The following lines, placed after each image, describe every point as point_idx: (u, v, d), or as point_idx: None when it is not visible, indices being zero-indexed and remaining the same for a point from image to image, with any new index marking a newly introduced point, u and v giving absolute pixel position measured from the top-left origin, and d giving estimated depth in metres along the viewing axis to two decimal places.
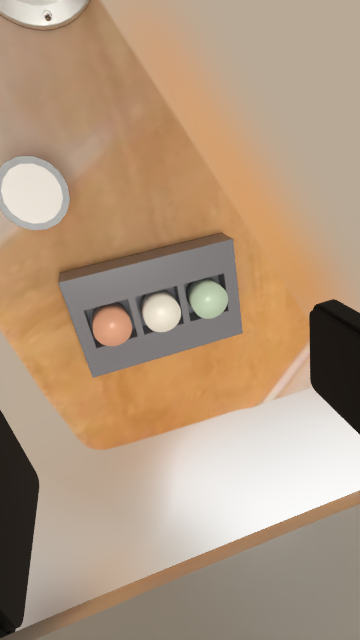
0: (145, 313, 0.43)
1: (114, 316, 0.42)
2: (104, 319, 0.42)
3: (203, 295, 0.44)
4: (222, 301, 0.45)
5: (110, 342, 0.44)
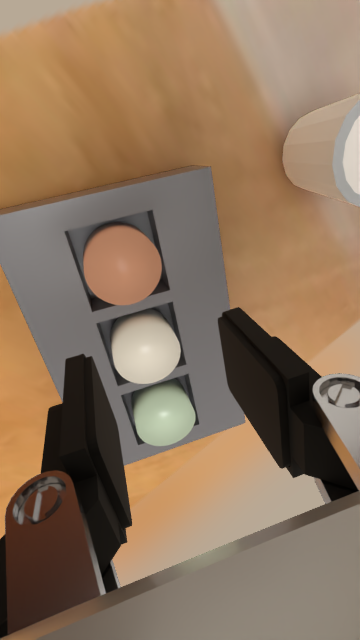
0: (153, 326, 0.24)
1: (151, 272, 0.22)
2: (146, 253, 0.21)
3: (178, 410, 0.27)
4: (165, 439, 0.28)
5: (93, 264, 0.21)
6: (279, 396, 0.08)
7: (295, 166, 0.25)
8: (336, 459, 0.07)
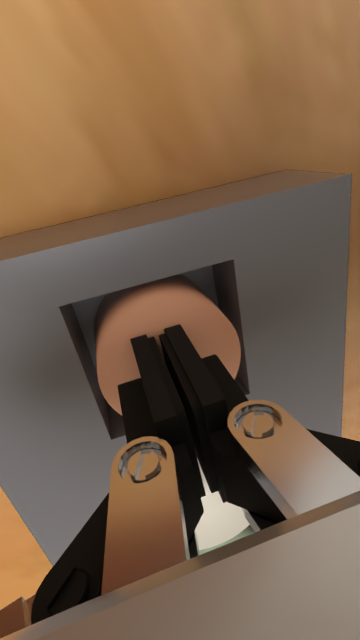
0: None
1: None
2: (215, 337, 0.11)
3: None
4: None
5: (115, 364, 0.11)
6: (198, 422, 0.07)
7: None
8: (252, 489, 0.07)
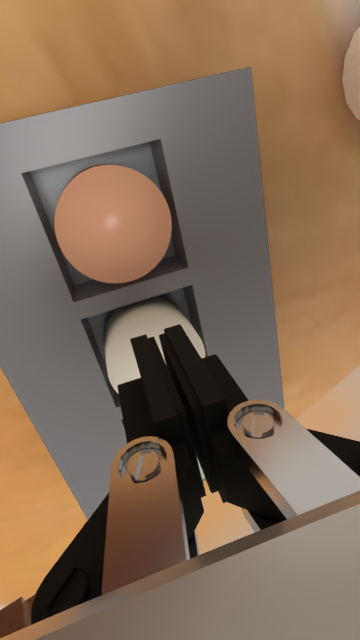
0: (165, 321, 0.16)
1: (156, 232, 0.15)
2: (148, 203, 0.14)
3: None
4: None
5: (68, 221, 0.14)
6: (198, 422, 0.07)
7: None
8: (252, 488, 0.07)
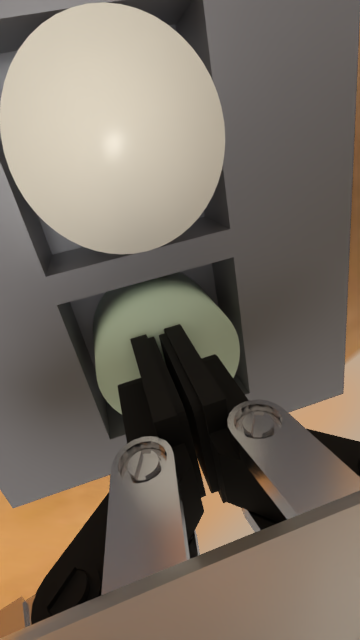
0: (138, 17, 0.07)
1: None
2: None
3: (201, 334, 0.11)
4: None
5: None
6: (198, 422, 0.07)
7: None
8: (252, 489, 0.07)
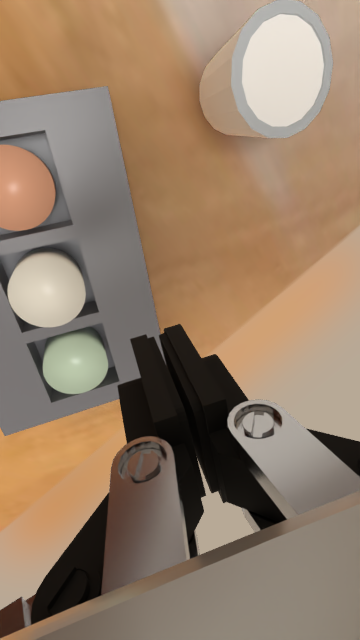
0: (51, 260, 0.22)
1: (43, 195, 0.21)
2: (36, 173, 0.21)
3: (88, 354, 0.26)
4: (77, 386, 0.27)
5: None
6: (198, 422, 0.07)
7: (208, 102, 0.24)
8: (252, 488, 0.07)
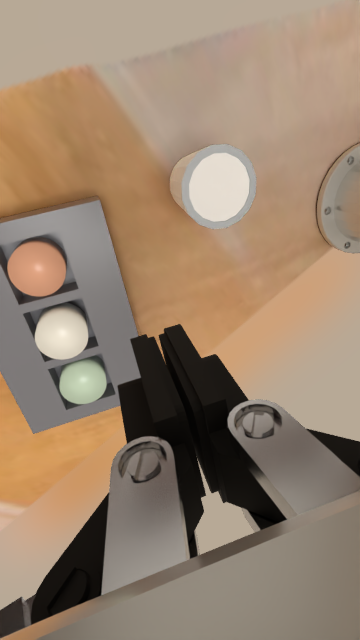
0: (63, 315, 0.32)
1: (58, 272, 0.31)
2: (52, 259, 0.31)
3: (92, 376, 0.36)
4: (84, 398, 0.37)
5: (14, 268, 0.30)
6: (198, 422, 0.07)
7: (174, 196, 0.34)
8: (252, 489, 0.07)
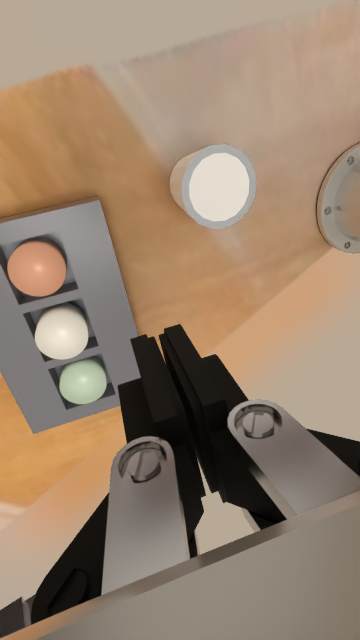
0: (63, 315, 0.32)
1: (58, 272, 0.31)
2: (52, 259, 0.31)
3: (92, 376, 0.36)
4: (84, 398, 0.37)
5: (14, 268, 0.30)
6: (198, 422, 0.07)
7: (174, 196, 0.34)
8: (252, 489, 0.07)
